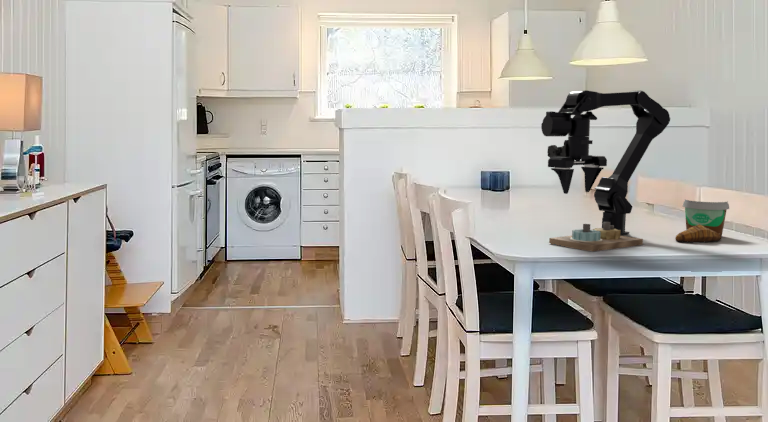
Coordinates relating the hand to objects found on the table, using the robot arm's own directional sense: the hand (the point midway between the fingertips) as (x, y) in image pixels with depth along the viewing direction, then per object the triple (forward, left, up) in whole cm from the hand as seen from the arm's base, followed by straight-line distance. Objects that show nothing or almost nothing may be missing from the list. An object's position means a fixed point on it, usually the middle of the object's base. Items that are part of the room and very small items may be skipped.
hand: (576, 192), depth 215 cm
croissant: (-20, +25, -13) cm, 35 cm away
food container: (-30, +21, -12) cm, 39 cm away
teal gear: (+12, +14, -10) cm, 21 cm away
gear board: (+8, +14, -12) cm, 20 cm away
